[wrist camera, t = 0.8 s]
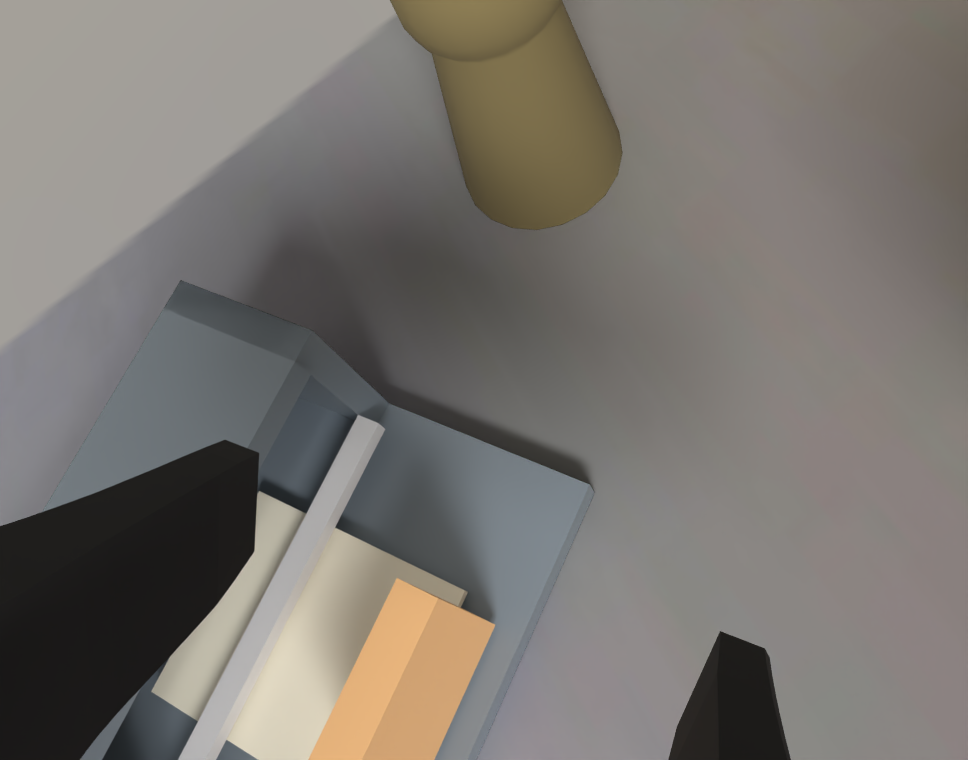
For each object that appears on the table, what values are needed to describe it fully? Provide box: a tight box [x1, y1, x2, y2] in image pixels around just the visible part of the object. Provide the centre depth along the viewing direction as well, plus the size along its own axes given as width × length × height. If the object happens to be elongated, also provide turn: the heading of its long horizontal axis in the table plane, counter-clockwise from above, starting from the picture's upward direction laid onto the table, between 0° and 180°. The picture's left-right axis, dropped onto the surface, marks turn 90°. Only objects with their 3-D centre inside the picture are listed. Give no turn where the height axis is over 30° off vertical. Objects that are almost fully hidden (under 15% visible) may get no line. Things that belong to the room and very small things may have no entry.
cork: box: [390, 0, 622, 230], centre depth 28 cm, size 6×6×11 cm
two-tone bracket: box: [151, 491, 495, 760], centre depth 25 cm, size 9×7×6 cm
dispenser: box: [42, 280, 595, 760], centre depth 26 cm, size 13×16×7 cm
